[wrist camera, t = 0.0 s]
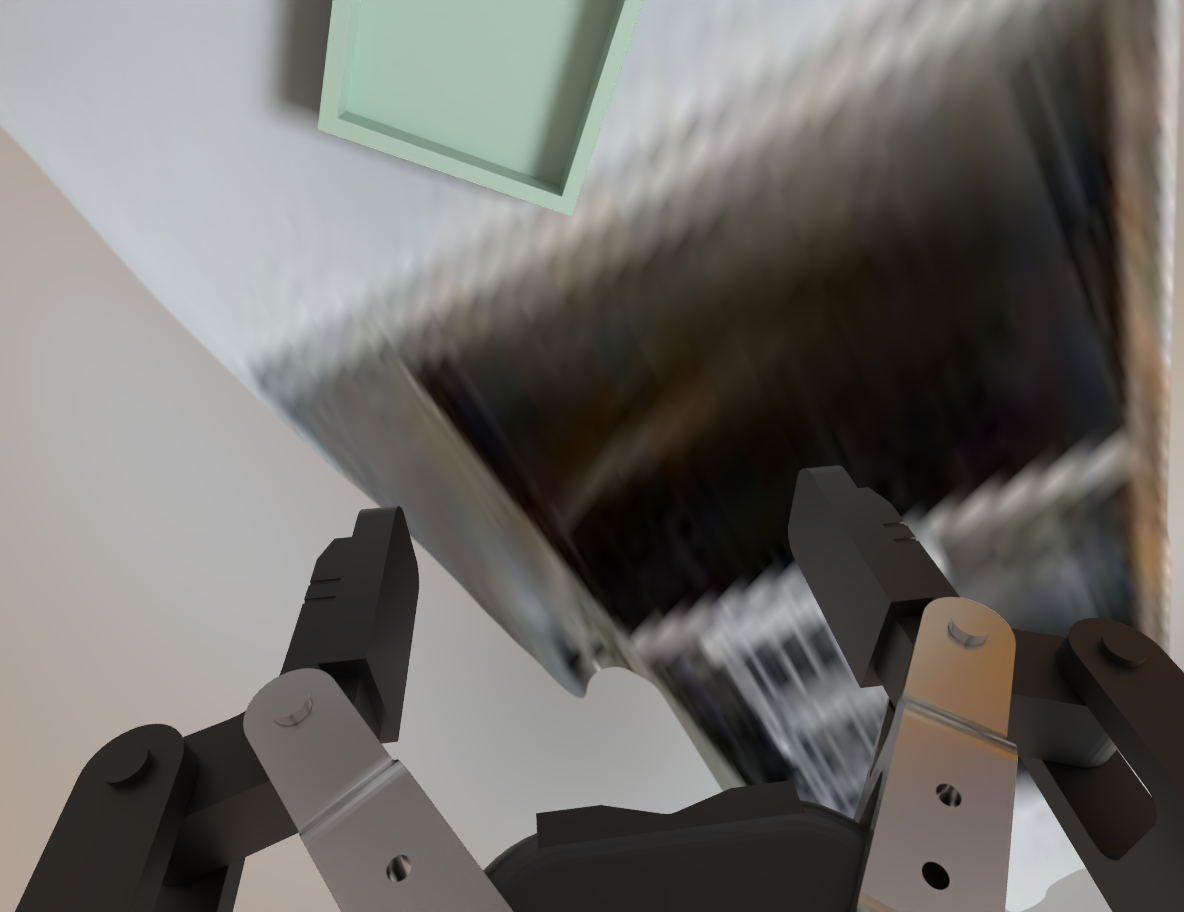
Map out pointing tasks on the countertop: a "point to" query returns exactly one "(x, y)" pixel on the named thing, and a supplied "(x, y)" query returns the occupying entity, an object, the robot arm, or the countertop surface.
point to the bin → (479, 86)
